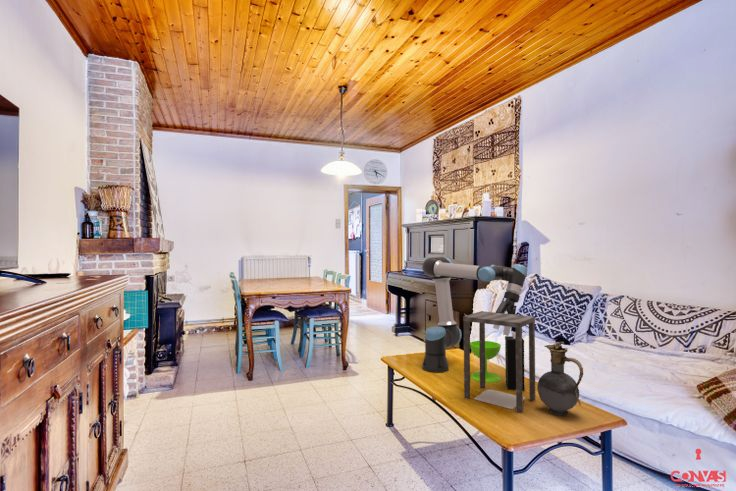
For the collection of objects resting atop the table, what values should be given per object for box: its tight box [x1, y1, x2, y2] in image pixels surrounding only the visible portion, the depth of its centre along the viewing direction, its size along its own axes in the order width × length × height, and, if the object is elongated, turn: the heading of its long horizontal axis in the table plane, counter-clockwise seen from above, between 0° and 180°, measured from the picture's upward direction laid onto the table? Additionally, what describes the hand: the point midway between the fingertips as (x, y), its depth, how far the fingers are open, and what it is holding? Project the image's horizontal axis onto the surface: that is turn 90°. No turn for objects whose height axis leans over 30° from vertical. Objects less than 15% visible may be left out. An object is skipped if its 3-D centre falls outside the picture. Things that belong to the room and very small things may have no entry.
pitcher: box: [536, 341, 584, 417], centre depth 164 cm, size 11×19×30 cm, turn 27°
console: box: [462, 310, 536, 414], centre depth 180 cm, size 26×20×38 cm
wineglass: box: [470, 340, 502, 384], centre depth 210 cm, size 16×16×18 cm
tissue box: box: [504, 330, 526, 392], centre depth 195 cm, size 8×8×28 cm
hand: (500, 332), depth 200 cm, fingers open, 13 cm apart
